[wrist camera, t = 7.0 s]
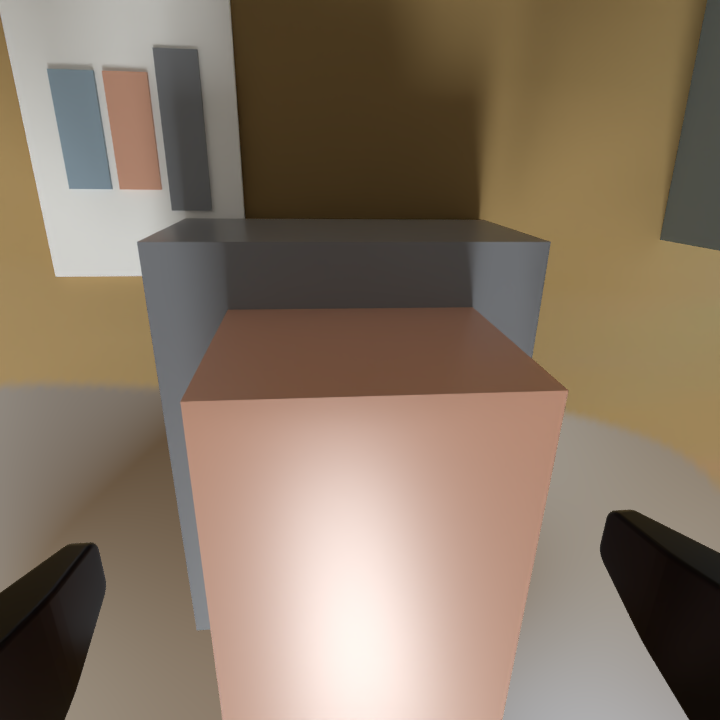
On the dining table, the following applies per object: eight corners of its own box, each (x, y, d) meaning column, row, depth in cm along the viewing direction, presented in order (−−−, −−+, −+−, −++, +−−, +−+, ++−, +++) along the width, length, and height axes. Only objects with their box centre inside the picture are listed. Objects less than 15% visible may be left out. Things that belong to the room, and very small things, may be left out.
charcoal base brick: (483, 219, 13) (550, 241, 10) (451, 511, 17) (491, 606, 14) (185, 218, 13) (137, 241, 9) (221, 525, 16) (196, 630, 13)
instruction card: (227, -33, 11) (225, -39, 11) (248, 273, 14) (247, 275, 13) (-8, -47, 11) (-16, -52, 10) (59, 274, 13) (53, 277, 13)
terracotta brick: (472, 307, 10) (568, 390, 6) (444, 564, 13) (500, 728, 9) (227, 310, 10) (180, 401, 6) (250, 577, 12) (227, 756, 9)
